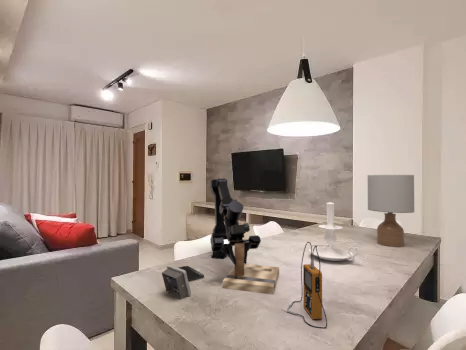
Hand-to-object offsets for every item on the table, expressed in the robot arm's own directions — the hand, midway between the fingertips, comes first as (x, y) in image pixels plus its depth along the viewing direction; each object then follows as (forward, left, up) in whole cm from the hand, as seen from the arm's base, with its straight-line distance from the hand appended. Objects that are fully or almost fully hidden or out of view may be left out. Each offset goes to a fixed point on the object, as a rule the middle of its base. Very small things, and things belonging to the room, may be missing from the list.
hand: (240, 263), depth 92 cm
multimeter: (+21, -14, -8) cm, 27 cm away
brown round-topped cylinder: (-1, +1, -7) cm, 7 cm away
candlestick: (+36, +43, -8) cm, 57 cm away
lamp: (+73, +85, -8) cm, 112 cm away
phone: (-24, +5, -9) cm, 26 cm away
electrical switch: (-19, -13, -8) cm, 24 cm away
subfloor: (+3, +7, -8) cm, 11 cm away
